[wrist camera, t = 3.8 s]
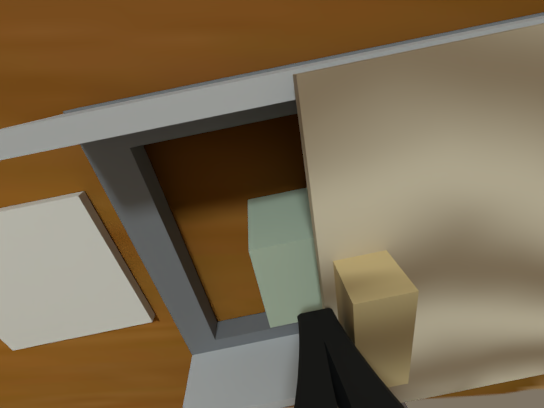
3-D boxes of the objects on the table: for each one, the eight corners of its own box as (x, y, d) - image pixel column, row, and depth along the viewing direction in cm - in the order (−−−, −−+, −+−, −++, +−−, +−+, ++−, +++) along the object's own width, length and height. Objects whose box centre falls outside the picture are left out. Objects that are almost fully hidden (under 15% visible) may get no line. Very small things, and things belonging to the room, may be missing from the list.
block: (336, 248, 18) (366, 308, 13) (264, 263, 18) (270, 327, 13) (330, 182, 15) (364, 227, 11) (247, 199, 15) (248, 250, 11)
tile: (155, 314, 19) (152, 321, 18) (19, 342, 19) (12, 350, 18) (84, 191, 14) (78, 195, 14) (-97, 227, 14) (-109, 234, 14)
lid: (552, 359, 15) (606, 410, 13) (335, 403, 15) (351, 463, 13) (757, -21, 7) (1001, -65, 5) (292, 74, 7) (314, 76, 5)
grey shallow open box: (509, 280, 21) (591, 345, 16) (199, 343, 21) (185, 428, 16) (602, 0, 12) (836, -46, 7) (82, 107, 12) (-24, 131, 7)
